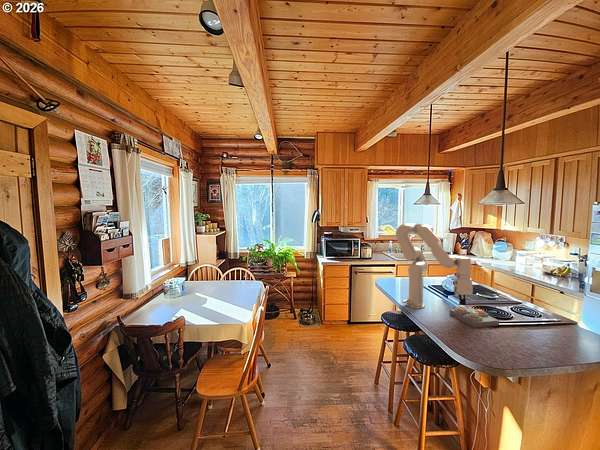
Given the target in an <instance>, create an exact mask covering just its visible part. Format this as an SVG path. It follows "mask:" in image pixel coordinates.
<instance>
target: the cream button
mask: <svg viewBox="0 0 600 450" xmlns="http://www.w3.org/2000/svg"><path fill="white" fill-rule="evenodd" d="M457 308H458V310H459V311H466V309H467V307H466V305H461V304H460V305H457Z"/></svg>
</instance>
